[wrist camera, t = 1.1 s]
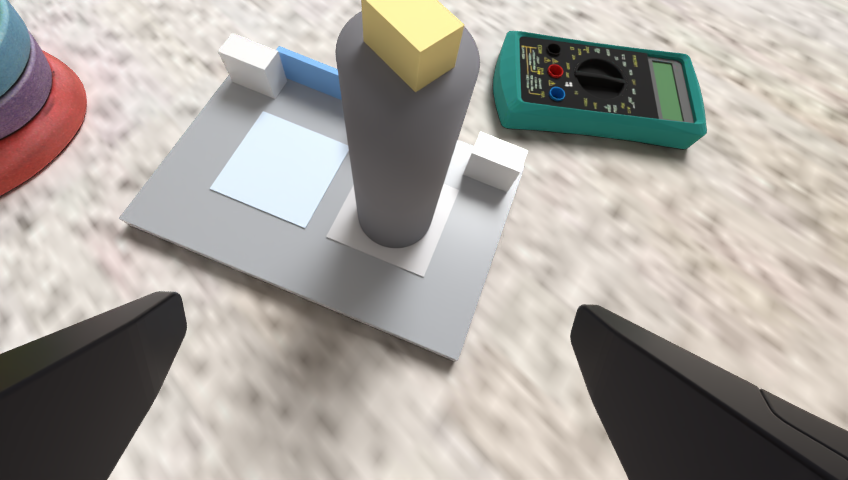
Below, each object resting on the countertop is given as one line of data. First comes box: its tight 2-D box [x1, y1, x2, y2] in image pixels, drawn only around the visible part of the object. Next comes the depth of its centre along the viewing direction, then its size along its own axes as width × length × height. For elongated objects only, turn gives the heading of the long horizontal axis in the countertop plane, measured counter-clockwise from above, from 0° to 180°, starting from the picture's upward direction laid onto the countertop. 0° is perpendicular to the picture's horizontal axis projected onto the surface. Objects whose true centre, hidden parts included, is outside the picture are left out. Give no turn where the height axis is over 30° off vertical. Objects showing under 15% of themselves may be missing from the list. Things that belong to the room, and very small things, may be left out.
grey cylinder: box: [336, 0, 480, 248], centre depth 17 cm, size 4×4×14 cm
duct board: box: [119, 33, 528, 361], centre depth 23 cm, size 20×13×4 cm, turn 69°
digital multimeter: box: [493, 31, 707, 149], centre depth 28 cm, size 7×15×3 cm, turn 86°
